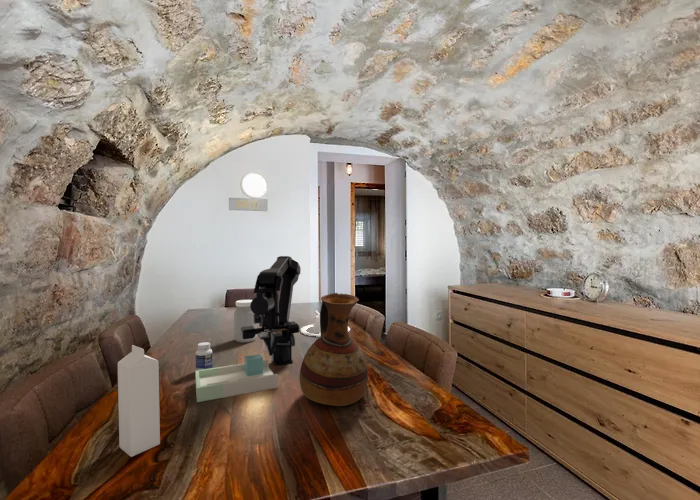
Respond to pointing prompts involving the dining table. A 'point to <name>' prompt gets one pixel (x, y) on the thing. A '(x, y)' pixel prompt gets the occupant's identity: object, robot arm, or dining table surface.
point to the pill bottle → (204, 356)
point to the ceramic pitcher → (334, 357)
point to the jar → (243, 319)
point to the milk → (138, 402)
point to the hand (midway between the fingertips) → (270, 355)
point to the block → (253, 365)
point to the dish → (316, 327)
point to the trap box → (232, 381)
